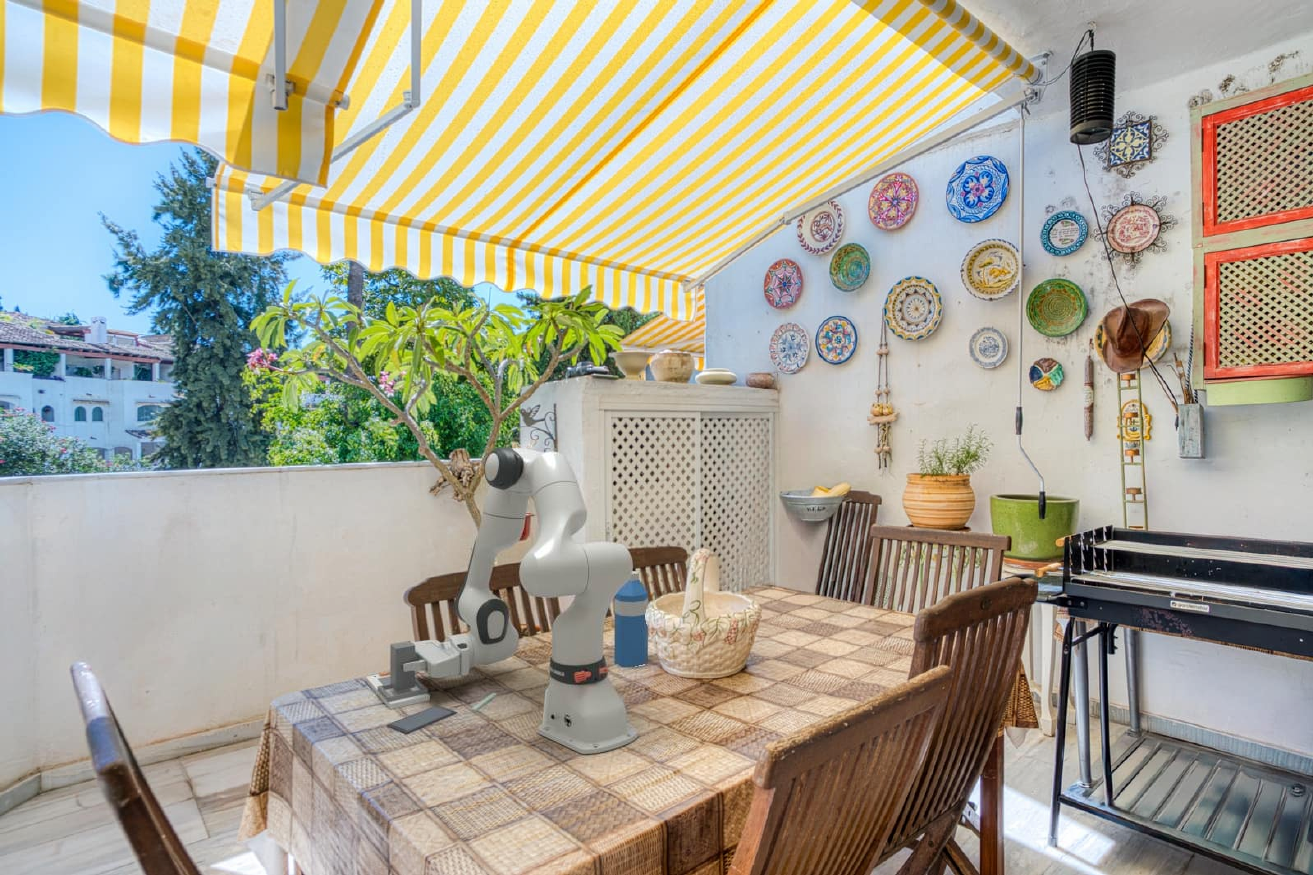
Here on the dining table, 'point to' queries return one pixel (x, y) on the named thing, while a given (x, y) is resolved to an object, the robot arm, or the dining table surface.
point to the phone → (421, 719)
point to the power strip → (397, 697)
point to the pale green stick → (483, 702)
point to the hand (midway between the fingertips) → (398, 664)
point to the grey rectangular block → (397, 657)
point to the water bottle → (631, 624)
